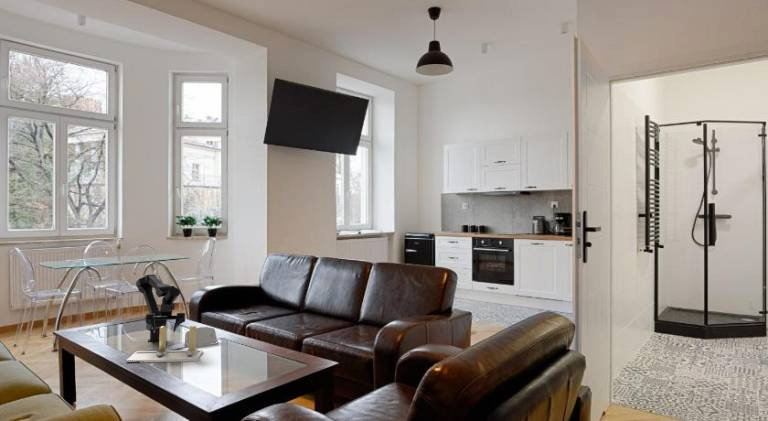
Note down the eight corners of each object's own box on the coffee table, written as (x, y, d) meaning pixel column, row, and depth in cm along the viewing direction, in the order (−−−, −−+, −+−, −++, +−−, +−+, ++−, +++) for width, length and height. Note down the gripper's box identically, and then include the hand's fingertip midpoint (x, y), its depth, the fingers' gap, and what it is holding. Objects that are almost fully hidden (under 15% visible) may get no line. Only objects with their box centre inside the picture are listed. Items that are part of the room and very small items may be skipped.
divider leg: (158, 352, 232) (159, 325, 232) (168, 352, 233) (169, 325, 233) (154, 356, 225) (155, 329, 225) (164, 356, 226) (165, 329, 226)
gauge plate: (136, 353, 234) (137, 324, 234) (202, 352, 239) (203, 323, 239) (125, 362, 220) (126, 331, 220) (196, 361, 225) (197, 330, 225)
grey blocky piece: (186, 347, 246) (185, 328, 249) (184, 348, 250) (183, 329, 252) (218, 343, 256) (217, 324, 258) (215, 344, 259) (214, 326, 262)
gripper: (146, 298, 239) (142, 325, 228) (185, 297, 245) (183, 323, 234) (148, 310, 246) (144, 336, 236) (186, 309, 252) (184, 334, 242)
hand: (164, 332), depth 237 cm, fingers open, 9 cm apart
